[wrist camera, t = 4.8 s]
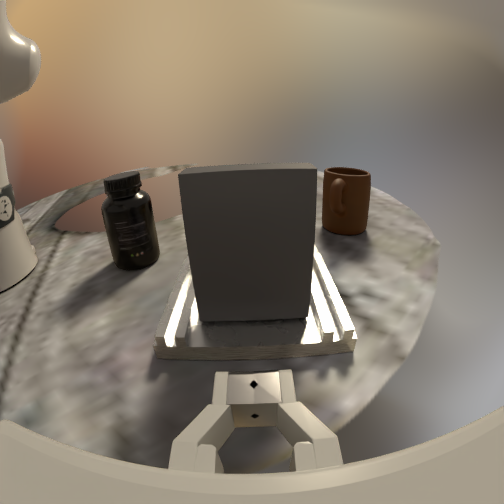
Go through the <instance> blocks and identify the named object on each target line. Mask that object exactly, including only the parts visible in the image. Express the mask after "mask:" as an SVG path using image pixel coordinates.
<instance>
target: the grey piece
mask: <svg viewBox="0 0 504 504" xmlns="http://www.w3.org/2000/svg"><path fill="white" fill-rule="evenodd" d="M354 330H355V329H354V327H353V324H352V322H351V320H350V317H349V315H348V313H347V311H346V308H345V306H344V304H343V302H342V299H341V297H340V295H339V293H338V291H337V289H336V286H335V284H334V282H333V280H332V278H331V276H330V274H329V271H328V269H327V267H326V265H325V263H324V261H323V259H322V257H321V255H320V253H319V252H318V250H317V248H316V246H315V244H314V258H313V272H312V285H311V297H310V308H309V317H306V318H291V319H272V320H248V321H199V315H198V310H197V304H196V299H195V293H194V287H193V281H192V275H191V269H190V263H189V256H188V255H187V258H185V260H184V262H183V265H182V267H181V269H180V272H179V274H178V277H177V279H176V282H175V284H174V287H173V289H172V292H171V294H170V297H169V299H168V302H167V305H166V307H165V310H164V312H163V315H162V318H161V320H160V323H159V326H158V328H157V331H156V334H155V341H154V344H153V347H154V350H155V353H156V356H157V358H160V359H181V360H255V359H277V358H292V357H305V356H317V355H327V354H336V353H344V352H352V351H354V348H355V344H356V340H357V337H356V334H355V332H354Z"/></svg>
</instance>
